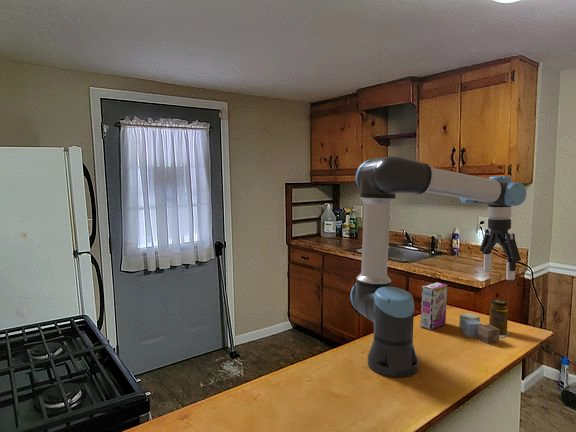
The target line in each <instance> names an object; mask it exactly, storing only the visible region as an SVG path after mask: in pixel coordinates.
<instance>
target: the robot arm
mask: <svg viewBox="0 0 576 432" xmlns="http://www.w3.org/2000/svg"><path fill="white" fill-rule="evenodd" d="M355 184H356V186H357V187H358V189H359V191H360V192H359V198H360V200H361V201H362V203H363V222H362V223H363V225H362V226H363V229H362V244H361V245H362V247H361V248H362V251H361V265H360V266H361V269H360V273H359V274H358V275H357V276H356V279H355V284H354V285H352V288H351V291H350V295H349V296H350V297H349V298H350V302H351V305H352V306H353V308H354V309H355V310H356V311H357V313H359V314H360V315H361V316H363V317H365V318H366V319H367V320H369V321H370V322H371V323H373V340H372V343H371V346H370V348H369V351H368V354H367V365H368V367H369V368H370V369H371V370H372V371H373V372H375V373H378V374H379V375H383V376H386V377H391V378H406V377H410V376H413V375H416V373H418V371H419V359H418V357H417V356H418V355H417V353H416V349H415V345H414V317H415V315H414V314H415V302H414V298H413V296H412V294H411V293H410V292H409V291H407V290H405V289H403V288H398V287H396V286H392V279H391V277H389V276H388V262H389V261H388V260H389V258H388V257H389V239H390V225H391V224H390V221H391V219H390V217H391V205H392V203H393V202H394V201H396V197H397V195H396V194H415V195H424V194H425V193H430V194H434V195H435V194H436V195H441V196H446V197H454V198H458V199H459V200H460V202H461V203H462V204H465V205H473V204H474V205H475V204H479V205H487V217H488V219H487V229H484V236H483V239H482V242H481V245H480V248H479V251H480V252H482V254H483V272H491V271H492V260H493V259H492V258H493V257H492V256H493V254H492V251H493V249H494V247H495V245H497V244H498V245H499V246H501V247H502V250H503V253H504V255H505V256H506V259H507V260H506V268H505V269H506V275H505V276H506V277H505V278H506V279H505V280H507V281H513V280H516V269H517V267H516V266H517V264H516V263H517V262H520V261H521V255H520V252H519V249H518V246H517V242H516V236H515V235H516V234H515V232H514V233H513V232H511V233H510V232H509V230H511V229H512V219H511V218H512V207H513V206H514V207H517V206H520V205H522V204H523V203H524V202H525V201H526V199H527V189H526V186H525V185H524V184H523V183H520V182H514V181H513V179H512V177H511V176H510V175H509V176H508V175H497V176H496V175H495V176H489V177H488V178H487V177H481V176H475V175H470V174H465V173H460V172H455V171H451V170H450V171H449V170H445V169H440V168H439V169H438V168H435V167H434V168H433V167H432V166H431V165H430V164H429V163H425V162H422V161H418V160H413V159H409V158H406V157H401V156H396V155H395V156H394V155H393V156H389V155H388V156H385V157H384V156H383V157H373V158H369V159H368V160H365V161H364V162H362V163H361V164H360V165H359V166H358V168H357V170H356V172H355Z"/></svg>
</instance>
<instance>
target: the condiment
mask: <svg viewBox="0 0 576 432" xmlns="http://www.w3.org/2000/svg"><path fill="white" fill-rule="evenodd" d="M490 305H491V306H490V307H489V322H488V324H489V325H491V326H494V327H496V328H498V329H500V335H499V338H502V339H504V338H505V337H507V336H508V335H509V334H510V333H511V331H509V330H508V320H509V319H508V316H509V310H508V302H507V301H505V300H502V299H492V300H491V304H490Z"/></svg>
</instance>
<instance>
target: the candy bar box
mask: <svg viewBox="0 0 576 432" xmlns="http://www.w3.org/2000/svg"><path fill="white" fill-rule="evenodd" d="M421 288H422V289H421V303H420V304H421V306H420V311H421V312H420V327H419V328H423V329H424V330H425V329H426V330H428V331H432V330H435V329H436V328H439V327H442V326H444V325H446V320H447V319H446V318H447V298H448V284H447V283H442V282H434V283H430V284H427V285H422V286H421Z"/></svg>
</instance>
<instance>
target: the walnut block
mask: <svg viewBox="0 0 576 432" xmlns="http://www.w3.org/2000/svg"><path fill="white" fill-rule="evenodd" d="M499 335H500V329H498V328H496V327H494V326H491V325H489V323H488V324H482V325H479V326H478V327H477V337H476V339H477V340H478V341H481V342H482V343H484V344H486V345H492V344H498V343H499V344H500V337H499Z"/></svg>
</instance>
